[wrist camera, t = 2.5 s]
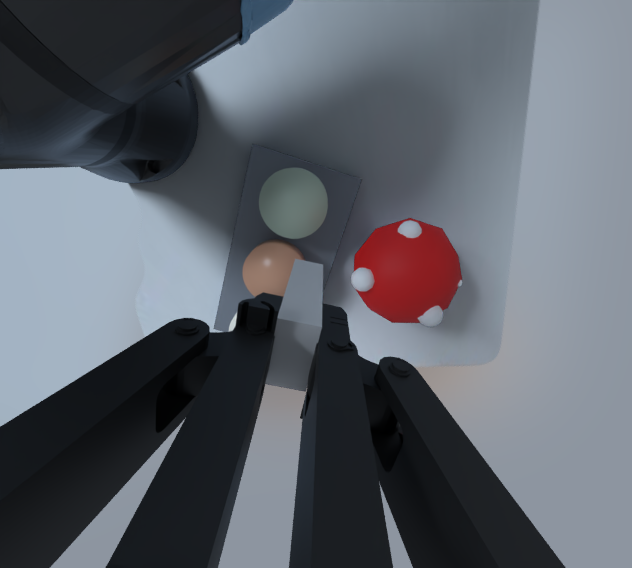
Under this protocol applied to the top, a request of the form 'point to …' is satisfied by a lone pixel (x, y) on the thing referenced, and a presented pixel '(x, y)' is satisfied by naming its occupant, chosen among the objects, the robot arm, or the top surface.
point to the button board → (255, 231)
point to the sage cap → (293, 203)
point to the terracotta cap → (270, 267)
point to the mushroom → (407, 272)
